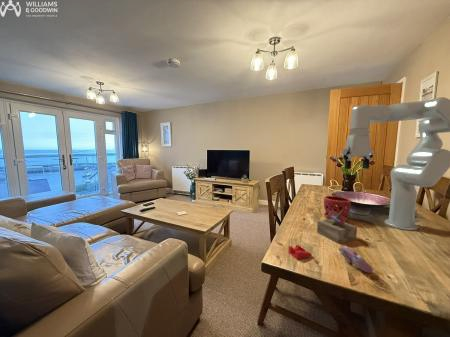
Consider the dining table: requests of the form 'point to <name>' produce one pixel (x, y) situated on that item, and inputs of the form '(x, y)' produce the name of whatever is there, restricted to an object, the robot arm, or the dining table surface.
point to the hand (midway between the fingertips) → (356, 168)
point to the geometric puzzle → (337, 217)
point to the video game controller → (355, 259)
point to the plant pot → (341, 204)
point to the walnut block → (336, 231)
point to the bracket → (299, 252)
